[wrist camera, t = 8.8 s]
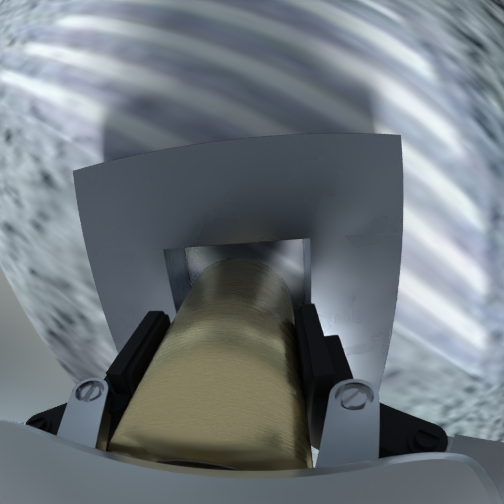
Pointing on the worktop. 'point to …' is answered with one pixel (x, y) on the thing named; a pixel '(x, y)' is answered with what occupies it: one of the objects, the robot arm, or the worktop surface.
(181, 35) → the worktop surface
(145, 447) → the cylinder
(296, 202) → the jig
